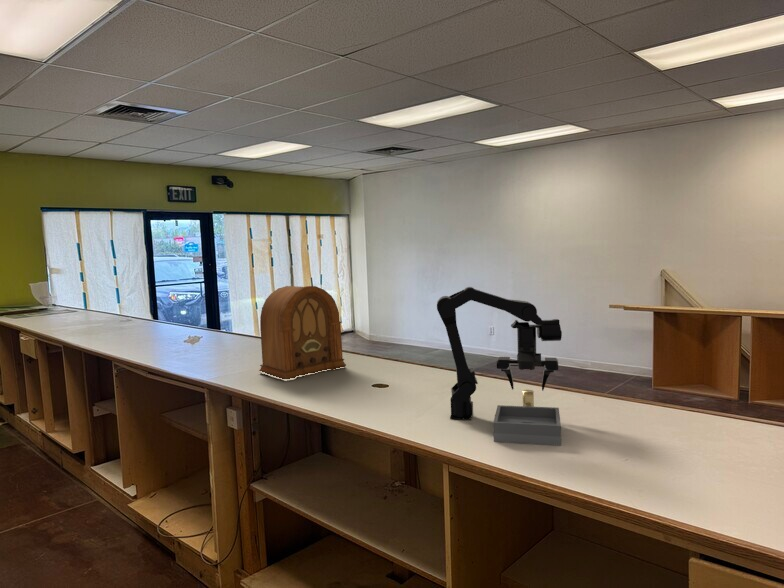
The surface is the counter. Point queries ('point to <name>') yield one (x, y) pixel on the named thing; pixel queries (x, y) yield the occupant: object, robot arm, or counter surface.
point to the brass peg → (528, 398)
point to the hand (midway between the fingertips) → (527, 389)
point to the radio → (300, 332)
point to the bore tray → (527, 425)
